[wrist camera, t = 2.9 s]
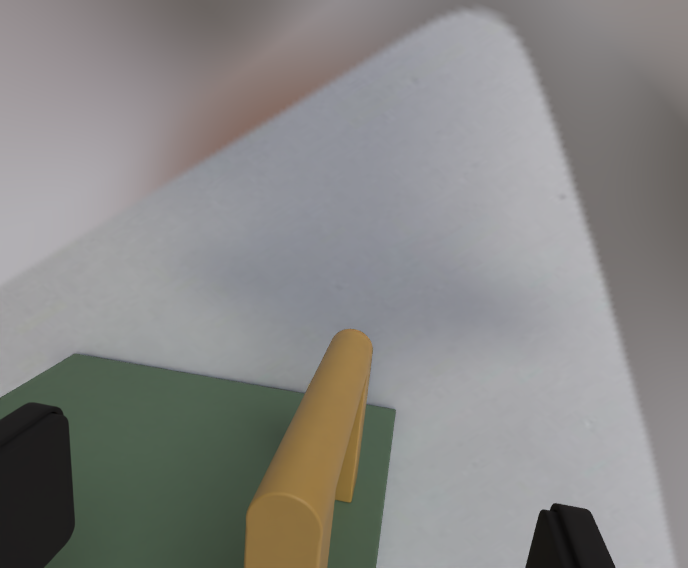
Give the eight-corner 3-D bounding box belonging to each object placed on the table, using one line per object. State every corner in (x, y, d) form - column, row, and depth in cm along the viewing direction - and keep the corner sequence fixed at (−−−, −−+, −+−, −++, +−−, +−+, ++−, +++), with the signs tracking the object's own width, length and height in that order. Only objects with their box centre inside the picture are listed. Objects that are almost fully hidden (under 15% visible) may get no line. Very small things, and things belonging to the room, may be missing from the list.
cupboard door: (67, 242, 26) (-440, 380, 11) (413, 291, 23) (383, 557, 8) (75, 369, 28) (-337, 631, 13) (393, 426, 25) (342, 829, 10)
